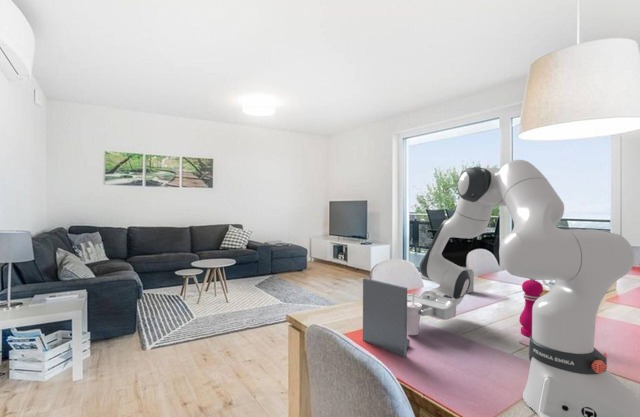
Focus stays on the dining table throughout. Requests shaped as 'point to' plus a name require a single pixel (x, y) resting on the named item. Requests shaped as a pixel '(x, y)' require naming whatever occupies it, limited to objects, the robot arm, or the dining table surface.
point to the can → (470, 279)
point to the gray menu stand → (385, 316)
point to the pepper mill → (529, 304)
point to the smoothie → (413, 316)
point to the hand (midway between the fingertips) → (410, 310)
